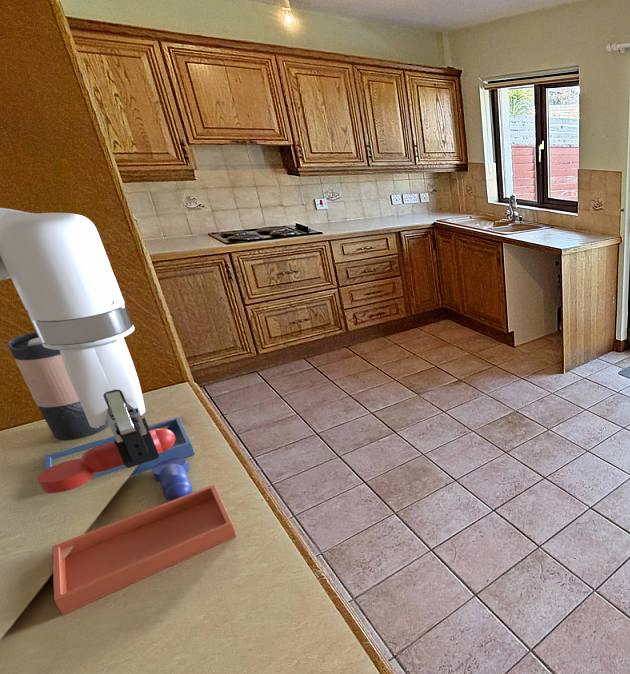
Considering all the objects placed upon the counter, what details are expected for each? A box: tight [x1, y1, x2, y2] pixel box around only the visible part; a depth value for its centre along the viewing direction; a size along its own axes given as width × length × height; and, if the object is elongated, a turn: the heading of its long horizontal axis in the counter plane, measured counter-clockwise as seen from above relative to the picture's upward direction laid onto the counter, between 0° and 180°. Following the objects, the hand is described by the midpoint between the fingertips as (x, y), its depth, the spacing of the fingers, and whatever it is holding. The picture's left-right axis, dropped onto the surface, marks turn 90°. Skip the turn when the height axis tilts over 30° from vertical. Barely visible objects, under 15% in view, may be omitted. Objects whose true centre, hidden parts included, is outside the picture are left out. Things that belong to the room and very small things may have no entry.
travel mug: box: [7, 331, 110, 441], centre depth 83 cm, size 8×8×20 cm
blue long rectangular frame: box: [44, 416, 196, 480], centre depth 81 cm, size 11×17×2 cm, turn 137°
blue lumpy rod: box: [151, 458, 193, 502], centre depth 76 cm, size 12×4×3 cm, turn 47°
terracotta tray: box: [51, 484, 237, 616], centre depth 65 cm, size 11×17×2 cm, turn 137°
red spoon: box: [36, 427, 175, 494], centre depth 59 cm, size 12×4×3 cm, turn 137°
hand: (140, 454), depth 61 cm, fingers closed on red spoon, 3 cm apart
